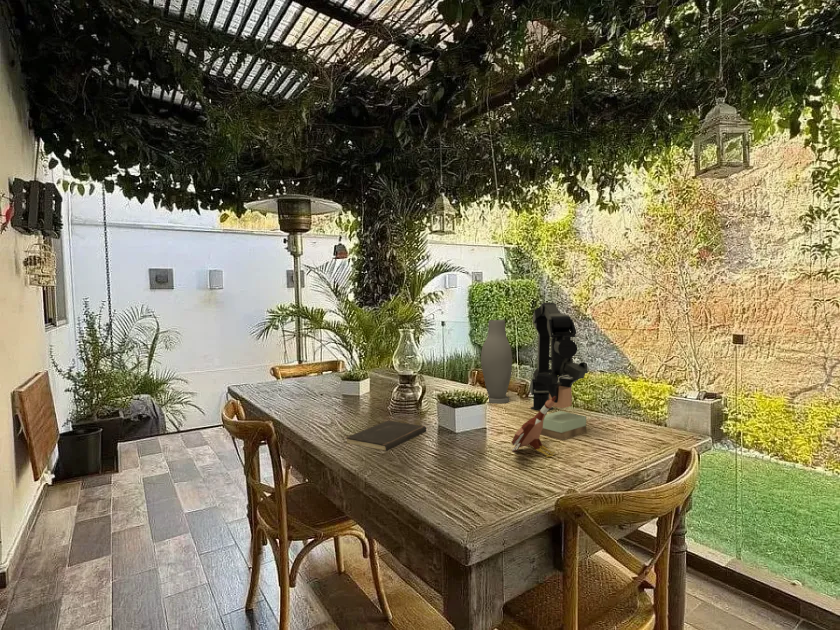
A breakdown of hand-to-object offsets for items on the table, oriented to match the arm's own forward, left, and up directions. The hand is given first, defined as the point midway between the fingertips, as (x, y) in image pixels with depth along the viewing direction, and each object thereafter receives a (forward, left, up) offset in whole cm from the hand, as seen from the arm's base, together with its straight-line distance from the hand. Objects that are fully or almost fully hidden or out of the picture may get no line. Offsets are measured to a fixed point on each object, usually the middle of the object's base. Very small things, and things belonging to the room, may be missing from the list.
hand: (560, 401), depth 153 cm
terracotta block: (0, 0, -2) cm, 2 cm away
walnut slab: (0, 0, -11) cm, 11 cm away
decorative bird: (+23, +7, -11) cm, 26 cm away
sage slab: (0, 0, -8) cm, 8 cm away
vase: (-20, -46, -11) cm, 51 cm away
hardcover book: (+45, -35, -11) cm, 58 cm away
